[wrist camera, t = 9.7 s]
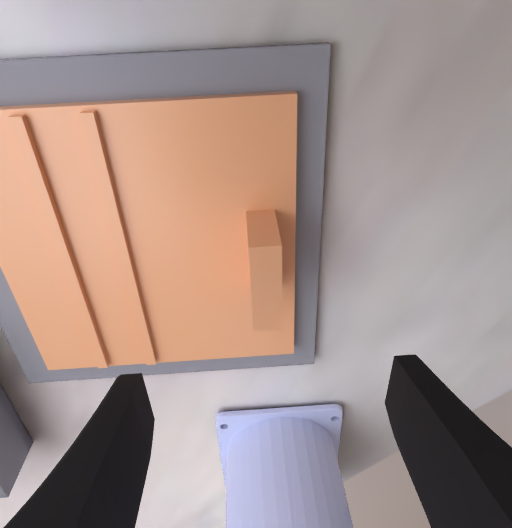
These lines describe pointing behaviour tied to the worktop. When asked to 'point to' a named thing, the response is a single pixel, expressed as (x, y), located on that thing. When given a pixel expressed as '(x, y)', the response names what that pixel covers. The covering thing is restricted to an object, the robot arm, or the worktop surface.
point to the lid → (151, 227)
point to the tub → (11, 445)
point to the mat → (182, 85)
